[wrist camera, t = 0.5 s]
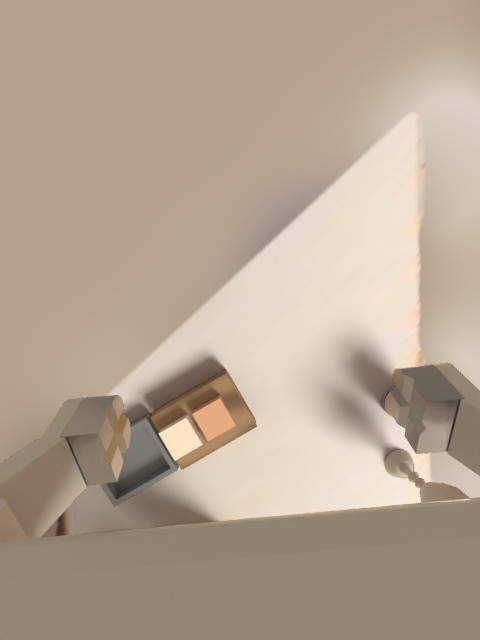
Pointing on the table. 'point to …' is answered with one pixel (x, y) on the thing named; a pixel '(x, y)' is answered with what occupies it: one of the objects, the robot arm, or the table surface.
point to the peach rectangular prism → (214, 418)
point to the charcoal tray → (141, 462)
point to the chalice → (420, 479)
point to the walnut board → (197, 398)
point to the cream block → (181, 437)
